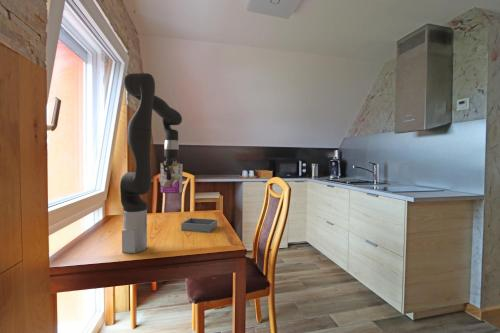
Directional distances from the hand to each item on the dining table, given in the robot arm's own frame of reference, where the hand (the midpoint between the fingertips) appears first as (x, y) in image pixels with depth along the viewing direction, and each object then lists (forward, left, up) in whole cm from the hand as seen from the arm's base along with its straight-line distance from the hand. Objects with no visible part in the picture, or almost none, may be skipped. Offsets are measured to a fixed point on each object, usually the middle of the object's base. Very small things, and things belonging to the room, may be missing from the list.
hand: (171, 179), depth 137 cm
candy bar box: (0, 0, -8) cm, 8 cm away
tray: (+3, -16, -27) cm, 32 cm away
